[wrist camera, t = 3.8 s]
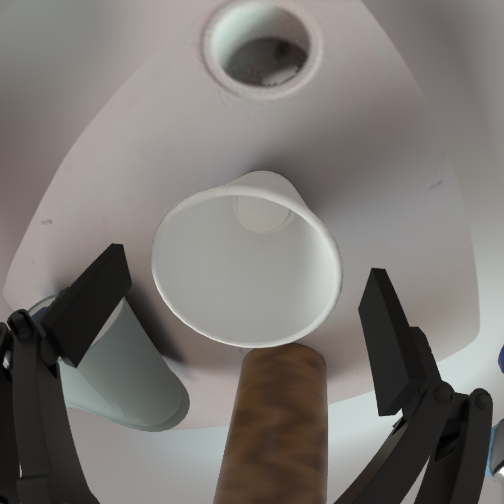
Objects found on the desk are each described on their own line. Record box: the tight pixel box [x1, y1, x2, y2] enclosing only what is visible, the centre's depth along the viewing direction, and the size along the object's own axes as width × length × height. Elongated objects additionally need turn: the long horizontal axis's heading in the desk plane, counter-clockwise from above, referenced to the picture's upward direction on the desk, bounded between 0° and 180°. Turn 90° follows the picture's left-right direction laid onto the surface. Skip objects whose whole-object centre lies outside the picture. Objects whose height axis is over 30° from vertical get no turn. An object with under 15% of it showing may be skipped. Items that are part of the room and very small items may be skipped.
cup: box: [151, 171, 343, 348], centre depth 18 cm, size 10×10×11 cm
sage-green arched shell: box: [28, 294, 190, 432], centre depth 31 cm, size 22×19×13 cm
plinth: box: [213, 343, 328, 504], centre depth 25 cm, size 11×11×20 cm
